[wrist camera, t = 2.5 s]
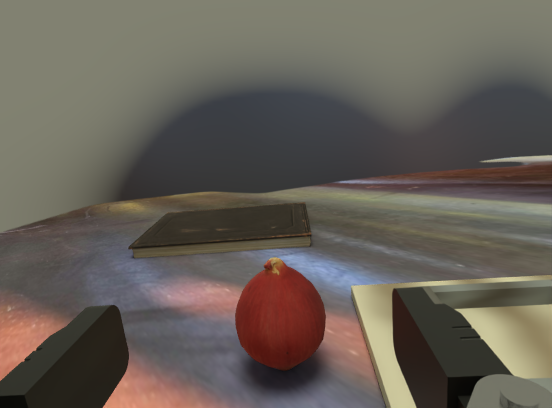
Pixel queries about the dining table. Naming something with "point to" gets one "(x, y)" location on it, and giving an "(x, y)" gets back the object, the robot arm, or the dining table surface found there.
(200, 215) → the hardcover book
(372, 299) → the cradle board
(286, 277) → the onion
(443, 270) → the dining table surface
